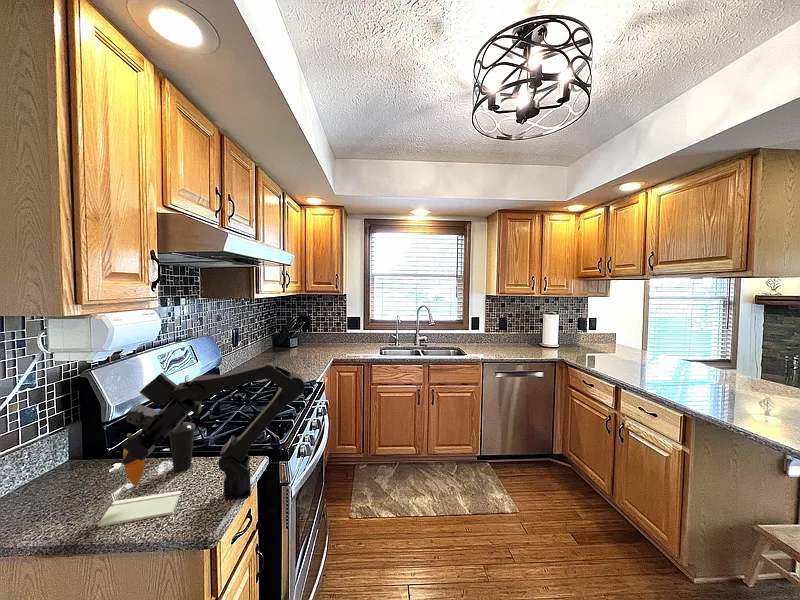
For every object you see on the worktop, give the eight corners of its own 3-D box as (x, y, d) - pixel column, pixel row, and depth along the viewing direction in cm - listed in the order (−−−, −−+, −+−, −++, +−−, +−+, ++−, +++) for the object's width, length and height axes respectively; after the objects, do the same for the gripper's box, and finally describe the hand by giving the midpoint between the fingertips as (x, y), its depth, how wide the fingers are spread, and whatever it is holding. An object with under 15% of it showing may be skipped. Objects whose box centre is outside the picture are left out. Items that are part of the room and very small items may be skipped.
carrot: (144, 478, 103) (141, 426, 102) (149, 485, 100) (146, 431, 99) (122, 486, 100) (119, 431, 99) (127, 493, 96) (124, 437, 95)
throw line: (181, 492, 106) (181, 490, 106) (180, 494, 105) (180, 493, 105) (114, 502, 101) (114, 501, 101) (112, 505, 99) (112, 504, 99)
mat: (179, 497, 104) (179, 495, 104) (172, 514, 96) (172, 511, 96) (110, 508, 98) (110, 506, 98) (97, 527, 91) (97, 524, 91)
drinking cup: (163, 470, 118) (162, 409, 117) (186, 460, 125) (185, 402, 124) (177, 476, 115) (177, 413, 114) (200, 466, 121) (200, 406, 121)
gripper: (163, 386, 108) (123, 426, 107) (129, 407, 90) (80, 456, 89) (193, 410, 110) (154, 450, 109) (166, 436, 92) (118, 484, 90)
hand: (128, 458), depth 99 cm, fingers closed on carrot, 5 cm apart
